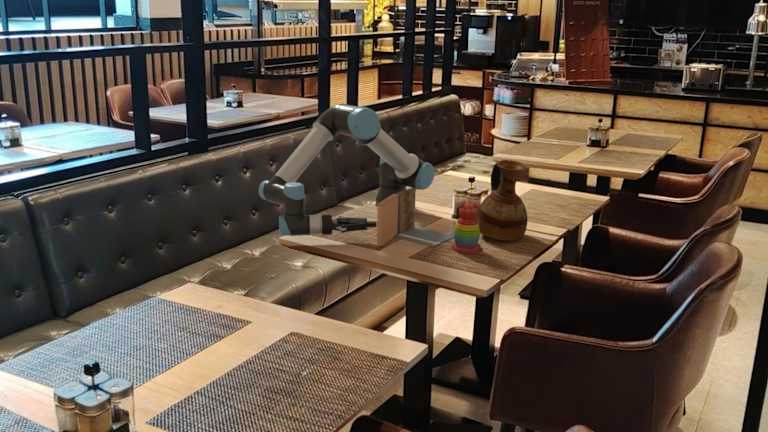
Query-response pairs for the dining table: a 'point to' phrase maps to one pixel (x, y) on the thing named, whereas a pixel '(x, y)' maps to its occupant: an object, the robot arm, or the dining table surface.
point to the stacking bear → (467, 230)
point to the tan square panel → (387, 219)
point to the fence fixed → (406, 210)
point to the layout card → (424, 236)
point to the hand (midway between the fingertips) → (384, 223)
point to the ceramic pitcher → (503, 204)
